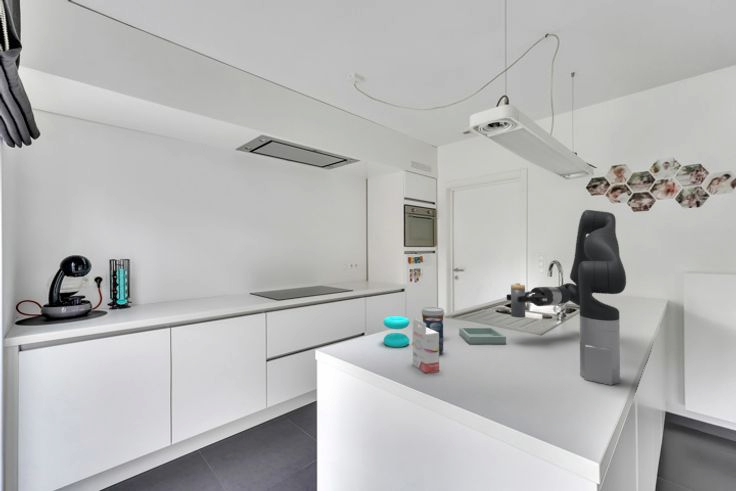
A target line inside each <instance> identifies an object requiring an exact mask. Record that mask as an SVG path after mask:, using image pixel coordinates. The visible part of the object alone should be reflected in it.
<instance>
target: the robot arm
mask: <svg viewBox="0 0 736 491" xmlns="http://www.w3.org/2000/svg"><path fill="white" fill-rule="evenodd" d="M616 219H617V218H616V216H615V215H614V213H612V212H609V211H603V210H590V209H585V210H584V211H583V212H582V214H581V215H580V219H579V222H578V228H577V235H576V242H575V249H574V250H575V251H574V258H573V263H572V266H571V271H570V274H569V278H570V280H571V281H572V282H573V283H571V282H569V283H568V282H566V283H564V284H562V285H560V286H536V287H533V288H532V289H531V291H525V296H518V297H517V301H518V302H525V303H529V304H533V305H534V306H537V307H545V306H546V307H547V306H548V307H549V306H555V305H561V304H562V305H563V304H568V303H569V301H570V302H571V303H573V304H575V305H577V306H579V374H580V376H581V377H583V378H584V380H586V381H590V382H594V383H601V384H604V385H609V386H613V384H619V383H620V382H621V362H620V361H621V354H620V352H621V350H620V349H621V348H620V347H621V346H620V344H621V343H620V342H621V340H620V339H621V338H620V326H621V325H620V310H619V309H618V308H617V307H615V306H612V305H609V304H606V303H604V302H602V301H600V300H598V299H597V298H595V297H594V296H593V294H605V295H607V294H608V295H618V294H621V293H623V292H624V290H625V288H626V285H627V276H626V271H625V268H624V264H623V262H622V259H621V256H620V246H619V241H618V238H617V231H616V227H617V226H616V224H617V223H616V222H617V221H616ZM506 300H507V301H511V293H508V294H506Z"/></svg>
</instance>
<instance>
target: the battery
mask: <svg viewBox="0 0 736 491" xmlns="http://www.w3.org/2000/svg"><path fill="white" fill-rule="evenodd" d="M525 292H526V285H525V284H521V282H515V284H510V294H511V300H510V317H513V318H518V319H519V318H526V302H518V301H517V297H518V296H525Z"/></svg>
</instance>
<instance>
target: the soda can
mask: <svg viewBox="0 0 736 491" xmlns="http://www.w3.org/2000/svg"><path fill="white" fill-rule="evenodd" d="M424 323H426V327H427V328H429V329H431V330H434V331H436V332H439V356H440V355H441V354H442V353H443V351H444V322H443V323H442V321H441V319H440V318H436V317H428V318H425V321H424Z"/></svg>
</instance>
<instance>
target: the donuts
mask: <svg viewBox="0 0 736 491" xmlns="http://www.w3.org/2000/svg"><path fill="white" fill-rule="evenodd" d="M382 322H383V325H384V326H385V327H386V328H387V329H389V330H390V329H391V330H403V329H405V328H407V327H408V326H409V324H410V319H409V318H407V317H405V316H399V315H395V316H394V315H393V316H386V317H385V318H384V319H383V321H382ZM383 343H384V344H385V346H388V347H392V348H402V347H406V346H408V345H409V343H410V338H409V336H408V335H406V334H404V333H400V332H393V333H388V334H385V336H384V337H383Z"/></svg>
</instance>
